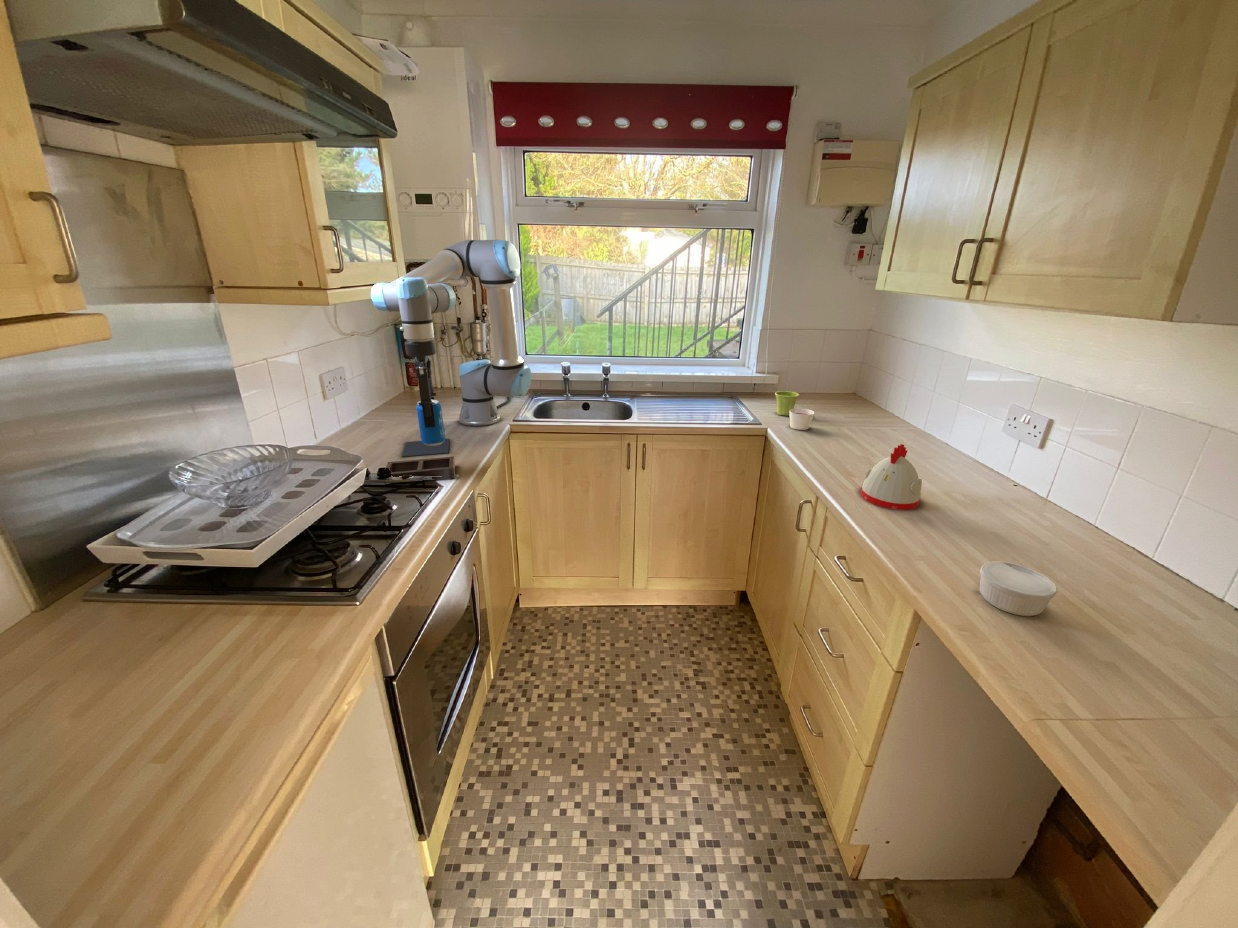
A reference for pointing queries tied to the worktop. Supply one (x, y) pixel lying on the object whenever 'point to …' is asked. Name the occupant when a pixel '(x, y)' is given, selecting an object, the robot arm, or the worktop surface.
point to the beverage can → (431, 434)
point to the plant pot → (785, 401)
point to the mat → (425, 449)
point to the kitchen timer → (893, 482)
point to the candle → (800, 418)
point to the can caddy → (424, 468)
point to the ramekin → (1015, 588)
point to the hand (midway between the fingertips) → (431, 422)
